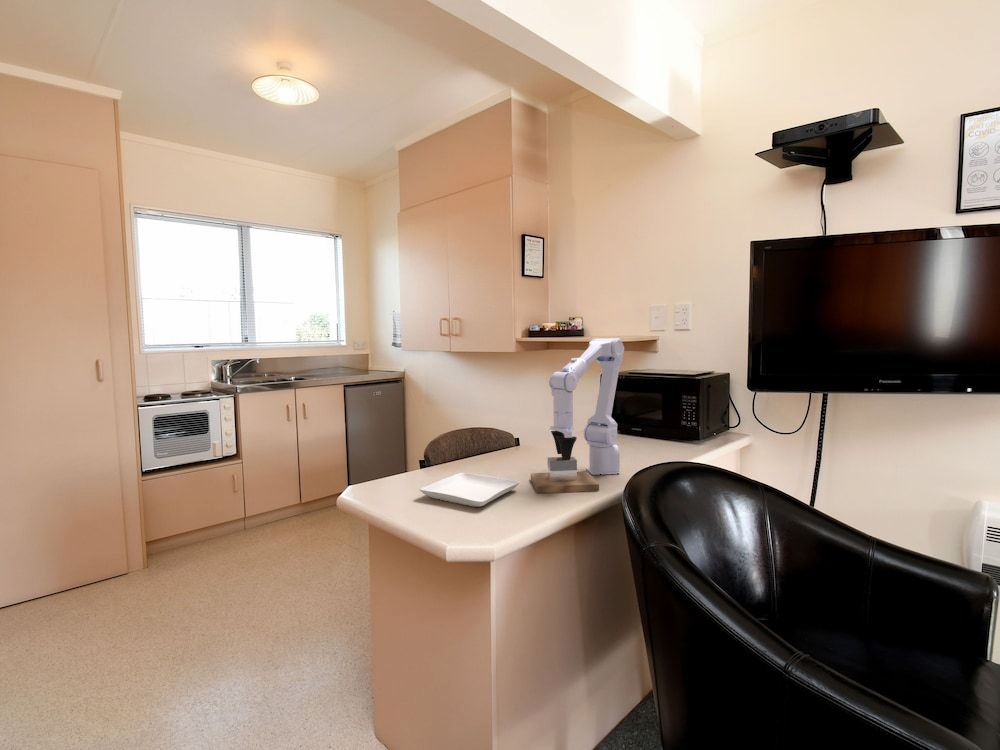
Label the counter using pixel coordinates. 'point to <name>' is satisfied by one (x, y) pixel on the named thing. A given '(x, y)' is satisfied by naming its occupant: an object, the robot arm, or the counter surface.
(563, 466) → the housing
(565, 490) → the walnut board
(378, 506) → the counter surface
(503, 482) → the salad plate
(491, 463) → the counter surface
